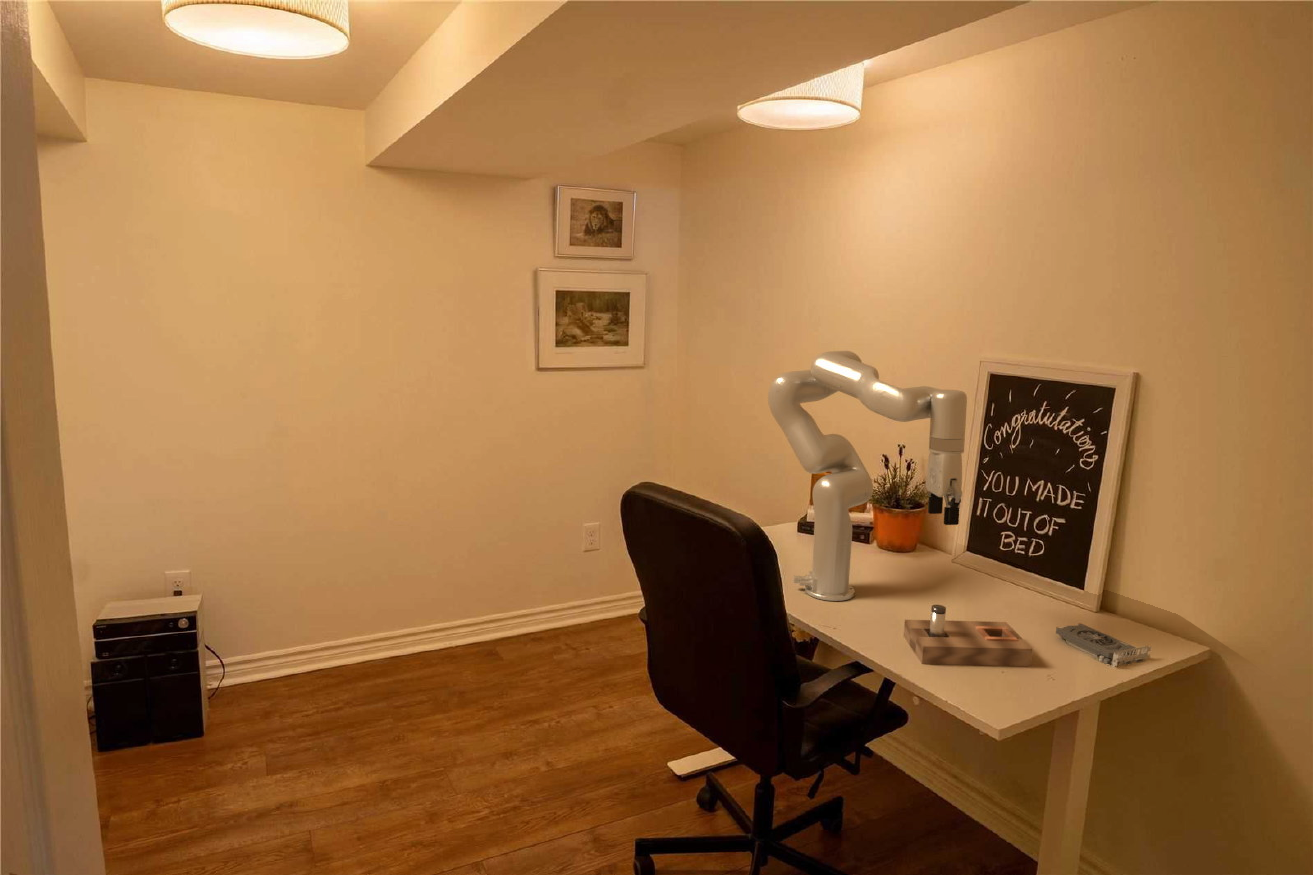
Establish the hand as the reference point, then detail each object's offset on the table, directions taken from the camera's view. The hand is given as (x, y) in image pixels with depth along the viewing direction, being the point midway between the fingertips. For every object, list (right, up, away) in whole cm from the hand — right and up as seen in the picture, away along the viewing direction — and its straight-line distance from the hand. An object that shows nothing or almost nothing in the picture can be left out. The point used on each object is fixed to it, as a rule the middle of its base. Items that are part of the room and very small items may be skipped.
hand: (942, 518), depth 189 cm
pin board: (+3, -28, -6) cm, 29 cm away
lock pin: (-4, -28, -6) cm, 29 cm away
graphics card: (+34, -29, -3) cm, 45 cm away
